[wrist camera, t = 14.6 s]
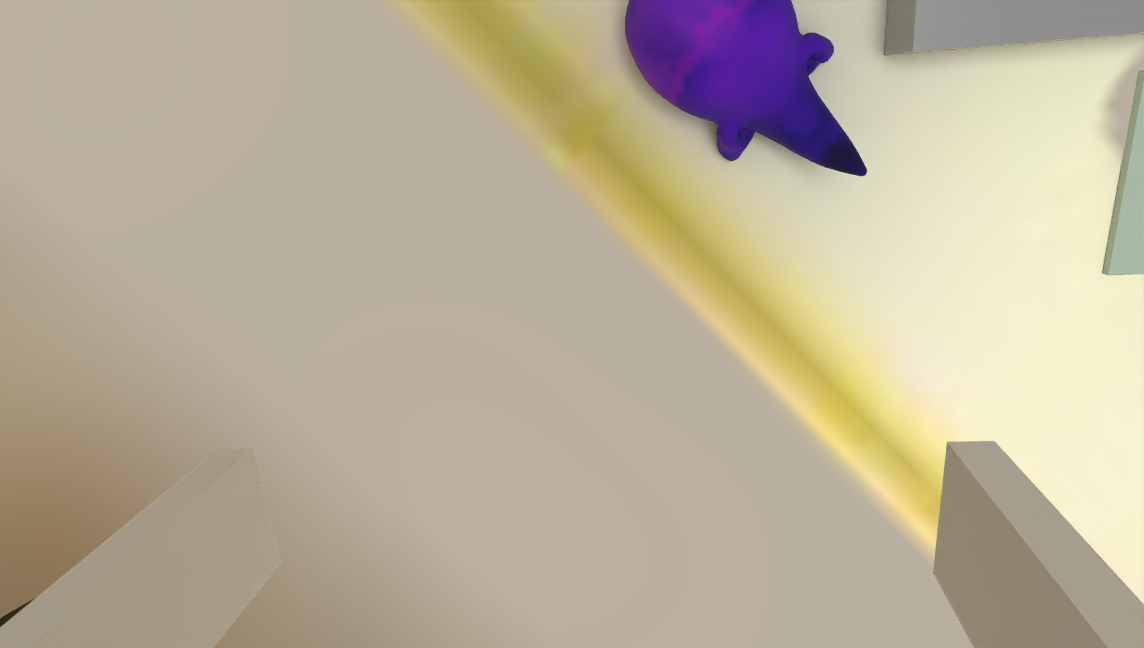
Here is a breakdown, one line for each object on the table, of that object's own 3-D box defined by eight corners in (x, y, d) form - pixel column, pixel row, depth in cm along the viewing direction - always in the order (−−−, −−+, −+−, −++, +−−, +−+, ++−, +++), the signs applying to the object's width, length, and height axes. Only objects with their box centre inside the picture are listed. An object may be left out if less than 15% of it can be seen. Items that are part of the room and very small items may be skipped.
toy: (867, 90, 43) (695, -91, 39) (936, 109, 34) (722, -123, 30) (763, 194, 46) (594, 34, 42) (802, 236, 37) (592, 38, 33)
